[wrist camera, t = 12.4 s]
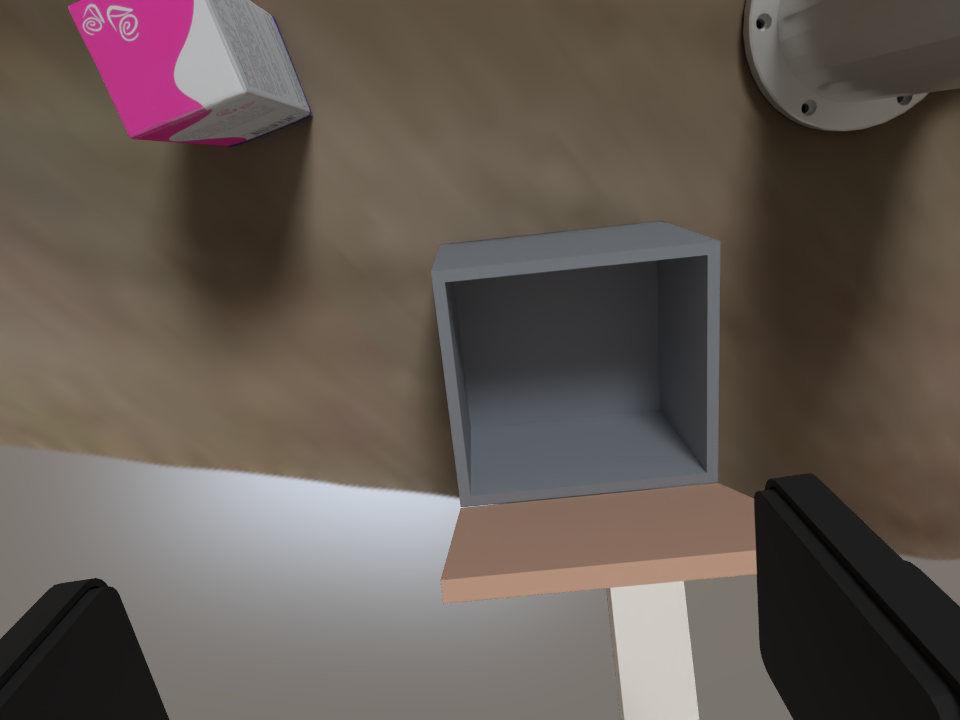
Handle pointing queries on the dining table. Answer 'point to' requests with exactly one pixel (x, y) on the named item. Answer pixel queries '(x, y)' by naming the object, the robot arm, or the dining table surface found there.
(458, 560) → the lid
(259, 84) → the supplement box
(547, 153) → the dining table surface
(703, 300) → the carton
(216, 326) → the dining table surface
